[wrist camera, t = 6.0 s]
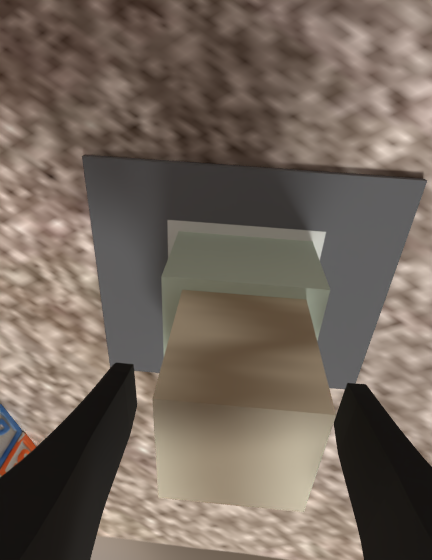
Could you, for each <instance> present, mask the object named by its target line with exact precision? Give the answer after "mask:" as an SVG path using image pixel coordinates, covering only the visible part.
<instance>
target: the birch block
mask: <svg viewBox="0 0 432 560" xmlns="http://www.w3.org/2000/svg"><path fill="white" fill-rule="evenodd" d="M153 415H154V433H155V450H156V467H157V485H158V498H164V499H175V500H185V501H195V502H205V503H215V504H226V505H236V506H246V507H256V508H266V509H277V510H287V511H297V512H304V510H305V507H306V504H307V501H308V498H309V495H310V492H311V489H312V486H313V483H314V480H315V477H316V474H317V471H318V468H319V465H320V462H321V459H322V456H323V453H324V450H325V447H326V444H327V441H328V438H329V435H330V432H331V429H332V426H333V423H334V420H335V417H336V413H335V409H334V405H333V401H332V397H331V393H330V390H329V386H328V382H327V378H326V374H325V370H324V366H323V362H322V358H321V354H320V350H319V346H318V342H317V339H316V335H315V331H314V327H313V323H312V319H311V315H310V311H309V307H308V303H307V300H305V299H293V298H280V297H268V296H255V295H243V294H230V293H218V292H205V291H192V290H182V292H181V296H180V300H179V303H178V307H177V311H176V314H175V318H174V322H173V325H172V329H171V333H170V336H169V340H168V344H167V347H166V351H165V355H164V358H163V362H162V366H161V369H160V373H159V377H158V381H157V384H156V388H155V392H154V395H153Z"/></svg>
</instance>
